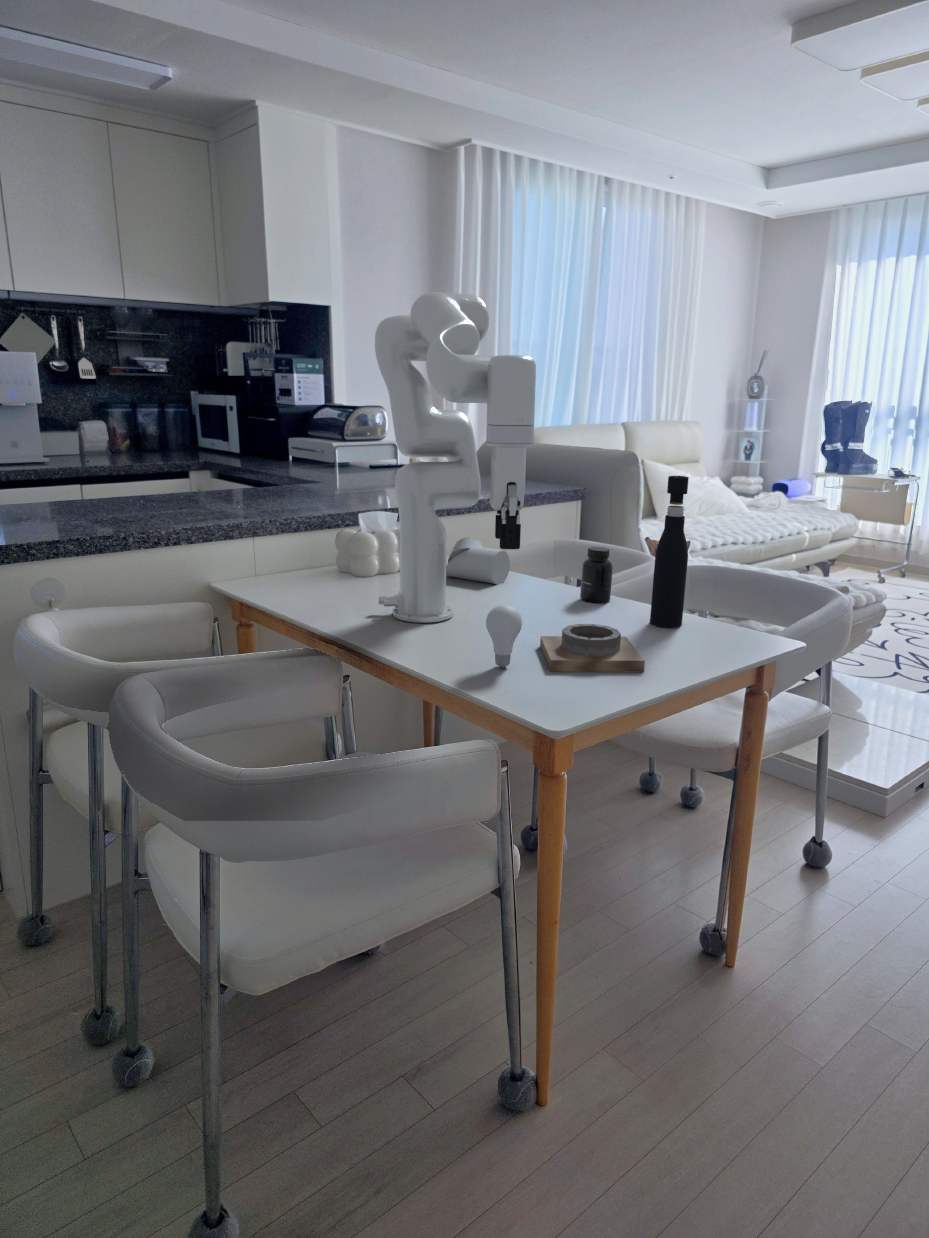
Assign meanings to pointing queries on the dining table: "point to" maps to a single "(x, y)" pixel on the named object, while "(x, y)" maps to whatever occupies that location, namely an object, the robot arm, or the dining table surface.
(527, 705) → the dining table surface
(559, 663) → the socket base
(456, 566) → the l-shaped cylinder
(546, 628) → the dining table surface
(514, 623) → the lightbulb
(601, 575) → the supplement bottle
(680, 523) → the black water bottle
